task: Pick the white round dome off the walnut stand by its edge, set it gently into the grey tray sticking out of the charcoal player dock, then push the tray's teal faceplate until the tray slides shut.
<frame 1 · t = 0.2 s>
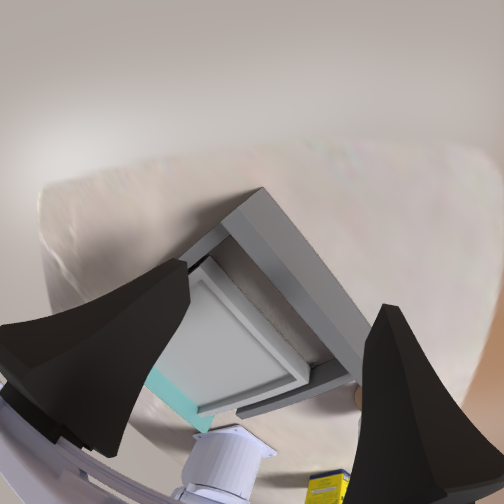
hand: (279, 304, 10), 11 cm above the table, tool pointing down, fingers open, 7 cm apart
supplement box: (335, 477, 33), on the table
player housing: (238, 330, 25), on the table
tray: (198, 360, 25), point 2 cm above the table, slide at 5.0 cm
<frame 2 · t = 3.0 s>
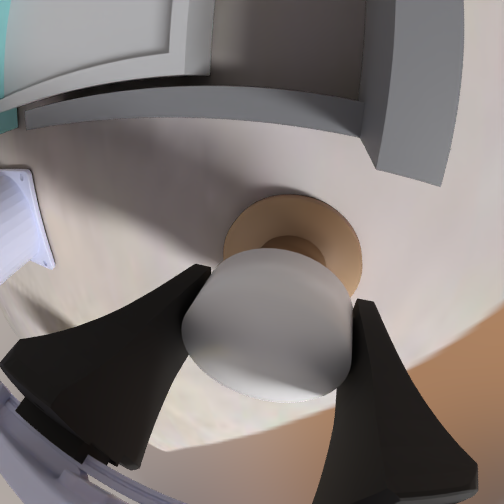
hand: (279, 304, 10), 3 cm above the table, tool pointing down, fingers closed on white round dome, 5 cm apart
white round dome: (276, 314, 10), point 3 cm above the table, touching disc stand, gripper
disc stand: (293, 259, 13), on the table
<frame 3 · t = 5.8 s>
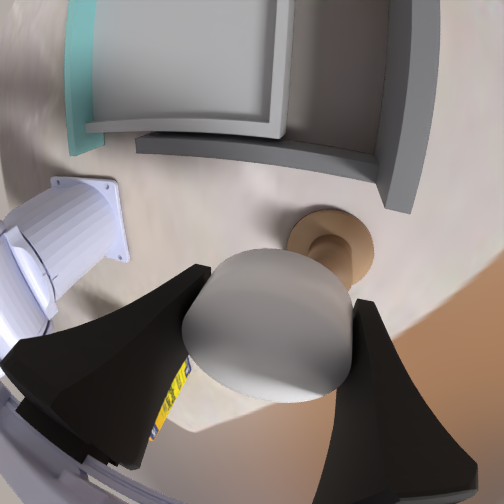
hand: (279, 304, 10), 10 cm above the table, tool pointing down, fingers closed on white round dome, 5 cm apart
supplement box: (168, 346, 32), on the table
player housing: (241, 29, 13), on the table
white round dome: (276, 314, 10), point 10 cm above the table, touching gripper
tray: (162, 31, 13), point 2 cm above the table, slide at 5.0 cm
disc stand: (330, 249, 20), on the table
when the fingers open (2 cm above the table, at t = 9.1 s): white round dome drops 2 cm, resting on tray.
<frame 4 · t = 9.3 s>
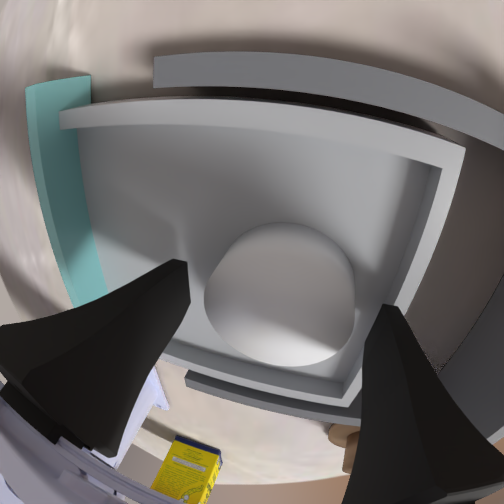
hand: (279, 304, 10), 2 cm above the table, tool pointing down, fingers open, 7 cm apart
supplement box: (201, 447, 31), on the table
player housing: (325, 274, 12), on the table
white round dome: (287, 283, 11), point 1 cm above the table, touching tray
tray: (209, 277, 11), point 2 cm above the table, slide at 5.0 cm, touching white round dome
disc stand: (366, 431, 18), on the table
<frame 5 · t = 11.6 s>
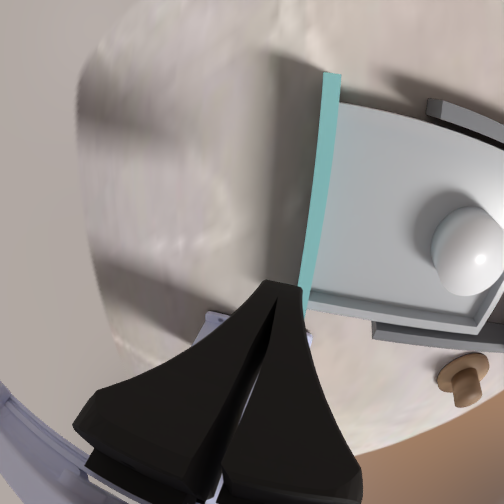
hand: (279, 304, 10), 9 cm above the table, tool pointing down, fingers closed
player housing: (475, 239, 15), on the table
white round dome: (465, 244, 15), point 1 cm above the table, touching tray
tray: (430, 240, 15), point 2 cm above the table, slide at 5.0 cm, touching white round dome
disc stand: (463, 372, 21), on the table
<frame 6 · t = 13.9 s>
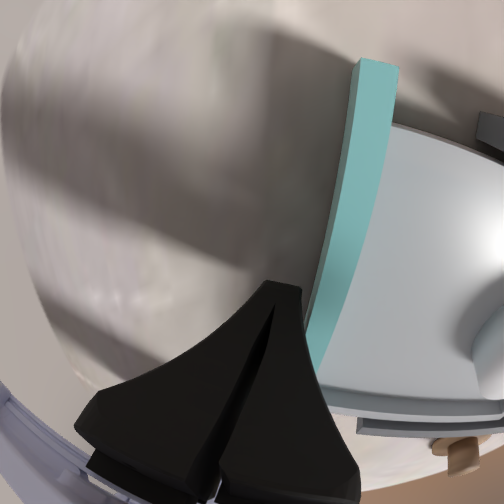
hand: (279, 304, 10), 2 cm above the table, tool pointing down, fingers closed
tray: (478, 338, 9), point 2 cm above the table, slide at 3.6 cm, touching gripper, white round dome
disc stand: (462, 438, 16), on the table
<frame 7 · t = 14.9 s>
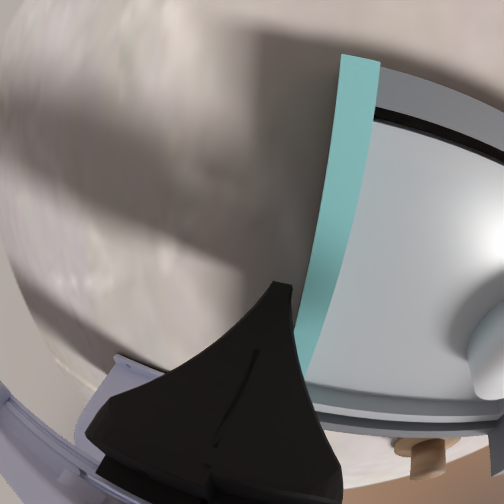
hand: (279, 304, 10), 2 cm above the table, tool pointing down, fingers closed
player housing: (451, 306, 10), on the table
tray: (472, 337, 9), point 2 cm above the table, slide at -0.1 cm, touching gripper, white round dome
disc stand: (428, 439, 17), on the table
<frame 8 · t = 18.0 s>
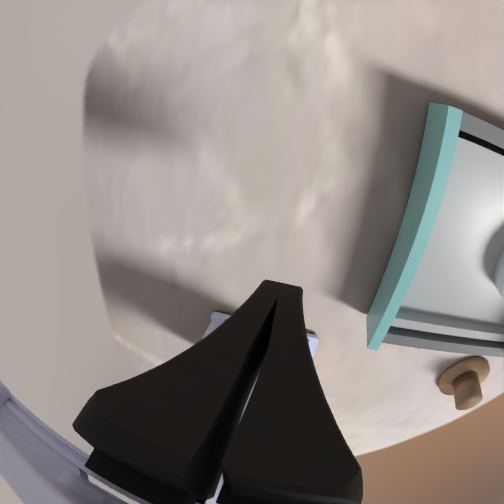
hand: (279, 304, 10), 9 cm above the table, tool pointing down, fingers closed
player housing: (481, 246, 15), on the table
tray: (497, 262, 14), point 2 cm above the table, slide at 0.0 cm, touching white round dome
disc stand: (464, 375, 22), on the table
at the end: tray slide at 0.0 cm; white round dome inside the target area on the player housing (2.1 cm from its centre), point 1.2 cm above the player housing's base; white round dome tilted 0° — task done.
